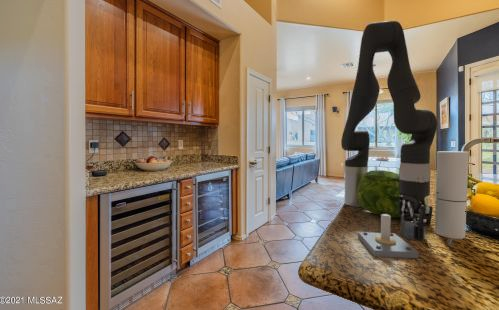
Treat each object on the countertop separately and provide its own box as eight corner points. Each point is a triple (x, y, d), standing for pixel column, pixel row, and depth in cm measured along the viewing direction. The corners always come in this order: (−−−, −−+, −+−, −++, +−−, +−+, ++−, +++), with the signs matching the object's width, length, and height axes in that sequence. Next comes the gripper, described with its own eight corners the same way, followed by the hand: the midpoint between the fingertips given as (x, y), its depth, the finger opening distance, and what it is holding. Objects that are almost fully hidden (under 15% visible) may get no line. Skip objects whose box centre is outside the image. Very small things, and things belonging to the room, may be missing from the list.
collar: (397, 232, 74) (398, 216, 74) (417, 233, 73) (417, 217, 73) (407, 239, 68) (407, 222, 68) (428, 240, 68) (429, 223, 67)
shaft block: (358, 237, 71) (358, 208, 70) (394, 238, 69) (394, 209, 69) (374, 256, 59) (375, 222, 58) (418, 258, 58) (419, 223, 57)
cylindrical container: (456, 231, 75) (459, 151, 73) (471, 240, 68) (474, 152, 67) (430, 228, 77) (432, 151, 75) (441, 237, 70) (444, 152, 69)
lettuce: (426, 231, 76) (438, 178, 76) (349, 208, 89) (359, 163, 89) (422, 226, 90) (432, 181, 90) (356, 207, 103) (365, 168, 103)
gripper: (389, 174, 77) (388, 226, 78) (414, 182, 63) (412, 244, 64) (414, 175, 76) (412, 226, 77) (445, 182, 62) (442, 246, 63)
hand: (412, 234), depth 71 cm, fingers closed on collar, 5 cm apart
